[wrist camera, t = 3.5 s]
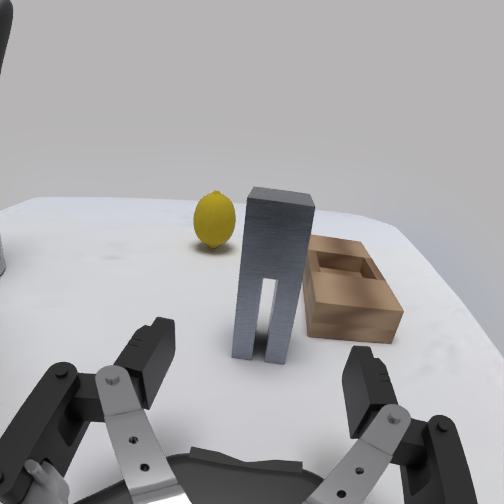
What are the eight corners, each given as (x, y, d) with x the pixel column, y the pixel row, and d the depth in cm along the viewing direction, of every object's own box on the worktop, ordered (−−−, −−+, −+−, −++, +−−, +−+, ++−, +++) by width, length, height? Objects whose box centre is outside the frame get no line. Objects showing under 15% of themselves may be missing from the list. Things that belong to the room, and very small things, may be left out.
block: (231, 357, 22) (247, 197, 18) (238, 327, 26) (253, 186, 22) (284, 364, 22) (315, 206, 18) (284, 333, 26) (309, 194, 21)
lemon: (218, 239, 46) (223, 185, 43) (240, 252, 42) (246, 194, 39) (185, 244, 43) (187, 187, 40) (205, 259, 39) (208, 196, 36)
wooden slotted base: (307, 336, 26) (316, 301, 24) (300, 257, 42) (304, 233, 41) (391, 343, 25) (403, 311, 24) (355, 265, 42) (360, 241, 41)
